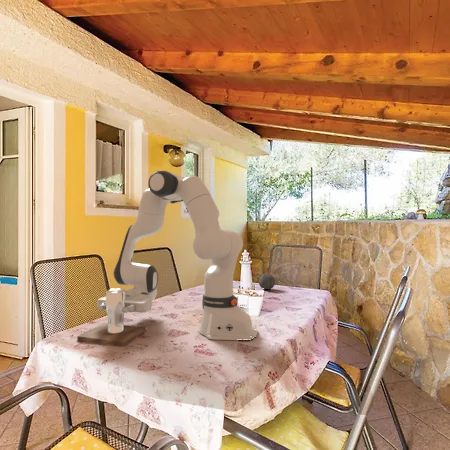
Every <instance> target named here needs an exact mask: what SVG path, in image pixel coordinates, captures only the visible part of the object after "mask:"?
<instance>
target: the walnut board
mask: <svg viewBox="0 0 450 450" xmlns="http://www.w3.org/2000/svg"><path fill="white" fill-rule="evenodd" d="M107 329H108V322H103V323H101V324H99V325H97V326H95V327H94V328H92V329H89V330H87V331H85V332H83V333H81V334H79V335H78V336H77V337H76V338H77V339H76V340H77V341H78V342H86V343H94V344H101V345H110V346H118V347H126V346H127V345H128V344H130V343H131V342H133V341H134V340H135V339H137V338H139V337H140V336H141V335H143V334H144V333H146V332H147V327H146V326H138V325H128V324H127V325H126V324H124V329H125V331H124V332H123V333H121V334H108V333H107Z"/></svg>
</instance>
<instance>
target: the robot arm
mask: <svg viewBox="0 0 450 450" xmlns="http://www.w3.org/2000/svg"><path fill="white" fill-rule="evenodd" d="M147 185H148V189H145V190H144V191H143V192H142V195H141V197H140V198H141V199H140V201H139V206H138V210H137V211H138V213H137V216H136V219H135V221H134V223H133V224H131V225H130V226H129V227H128V229H127V230H126V234H125V237H124V240H123V244H122V247H121V251H120V254H119V257H118V261H117V262H116V265H115V266H114V269H113V278H114V279H115V282H116V283H117V284H118V285H122V286H123V285H125V286H133V287H132V288H130V289H127V290H125V295H126V307H124V308H123V311H122V312H124V314H126V313H141V314H142V313H147V312H149V311H151V310H152V307H153V301H154V300H155V299H156V297H157V295H158V290H157V286H158V283H159V272H158V271H157V270H158V269H156V267H155V266H154V265H151V264H148V263H139V262H133V261H132V258H133V255H134V252H135V248H136V244H137V243H138V242H139V241H140V240H141V239H144V238H146V237H151V236H154V235H156V234H158V233H159V232H160V231H161V230H162V229H163V226H164V224H165V223H164V222H165V213H166V207H167V205H168V204H176V203H180V202H183V203H184V206H185V208H186V210H187V212H188V215H189V216H190V219H191V221H192V224H193V228H194V233H195V235H194V239H193V243H192V250H193V253H194V254H195V256H196V257H197V258H199V259H201V260H206V261H210V263H209V266H208V268H207V270H206V271H205V273H204V275H203V276H204V277H203V278H204V280H203V281H204V283H203V286H204V288H203V294H202V303H201V305H202V317H201V322H200V326H199V330H198V332H199V334H201V335H202V336H205V337H206V338H207V339H208V340H216V341H238V340H237V339H242V340H243V339H252V338H253V337H255V336H256V334H257V332H258V329H257V328H256V327H255V326H253V323H252V317H251V316H250V314H249V313H247V312H246V311H245V310H244V309H243V308H241V307H240V306H239V305H238V300H239V299H238V298H239V296H235V295H234V293H233V290H234V274H235V269H236V265H237V260H238V257H239V254H240V252H241V251H242V250H243V247H244V241H243V238H242V236H241V235H240V234H239V233H238V232H235V231H234V230H229V229H221V226H220V222H219V216H220V211H219V208H218V206H217V204H216V203H215V199H214V198H213V197H212V195H211V193H210V190H209V189H208V187H207V186H206V184H205V183H204V181H203V180H202V179H201V178H200V177H199V176H196V175H189V176H187V177H182V176H180V175H178V174H177V173H175V172H174V173H173V172H170V171H167V170H164V169H163V170H162V169H161V170H156V171H154V172H153V173H151V175H150V176H149V178H148V184H147ZM96 306H97V308H98V310H99V311H105V310H106V296H103V297H99V298H98V299H97V301H96ZM254 329H256V330H254ZM257 335H258V334H257ZM250 336H252V337H250ZM256 337H257V336H256Z"/></svg>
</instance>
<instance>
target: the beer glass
mask: <svg viewBox="0 0 450 450" xmlns="http://www.w3.org/2000/svg"><path fill="white" fill-rule="evenodd" d="M125 291H126V289H123V288H111V289H108V290H106V291H105V294H106V295H105V297H106V309H105V310H106V316H107V323H108V329H107V333H108V334H121V333H123V332H124V331H125V329H124V325H125V323H124V322H125V320H124V319H125V313H124V312H122V311H123V308H124V307H126V295H125Z"/></svg>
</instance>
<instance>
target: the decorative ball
mask: <svg viewBox="0 0 450 450" xmlns="http://www.w3.org/2000/svg"><path fill="white" fill-rule="evenodd" d="M275 280H276V279H275V277H274V276H273V275H271V274H270V273H264V274H262V275H260V277H259V279H258V285H259V287H260V288H261V289H262V288H264V289H270V290H271V289H273V288H274V286H275V284H276V281H275ZM264 289H263V290H264Z"/></svg>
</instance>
